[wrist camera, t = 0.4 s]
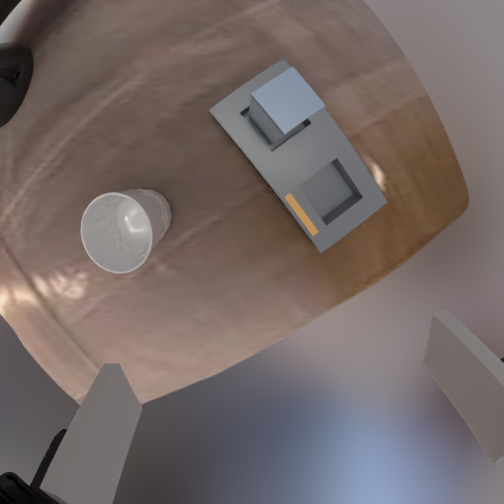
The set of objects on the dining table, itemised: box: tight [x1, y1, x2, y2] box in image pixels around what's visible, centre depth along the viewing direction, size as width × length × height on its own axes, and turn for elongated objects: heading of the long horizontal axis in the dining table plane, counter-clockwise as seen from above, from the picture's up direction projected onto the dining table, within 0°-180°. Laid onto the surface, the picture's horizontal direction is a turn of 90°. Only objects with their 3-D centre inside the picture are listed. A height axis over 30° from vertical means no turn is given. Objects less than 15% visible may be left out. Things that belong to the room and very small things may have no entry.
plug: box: [249, 66, 325, 145], centre depth 25 cm, size 4×4×12 cm
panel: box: [209, 59, 387, 254], centre depth 31 cm, size 20×10×4 cm, turn 38°
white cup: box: [81, 189, 172, 274], centre depth 30 cm, size 8×8×10 cm
